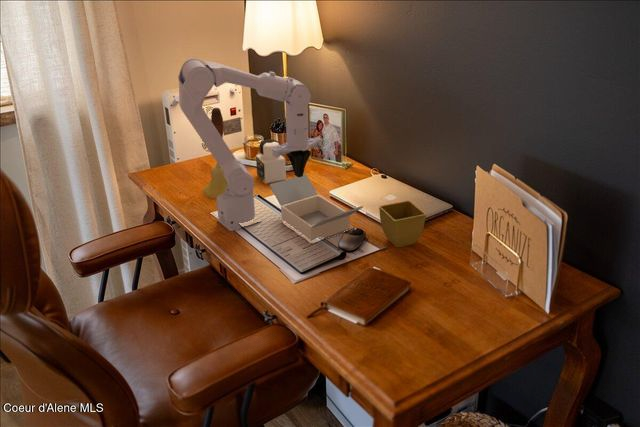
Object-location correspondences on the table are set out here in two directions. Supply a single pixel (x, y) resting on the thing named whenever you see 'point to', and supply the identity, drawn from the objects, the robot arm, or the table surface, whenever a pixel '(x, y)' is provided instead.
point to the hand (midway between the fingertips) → (298, 175)
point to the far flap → (293, 190)
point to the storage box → (314, 217)
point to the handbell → (217, 178)
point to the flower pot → (402, 222)
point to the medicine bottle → (270, 163)
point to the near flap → (337, 217)
